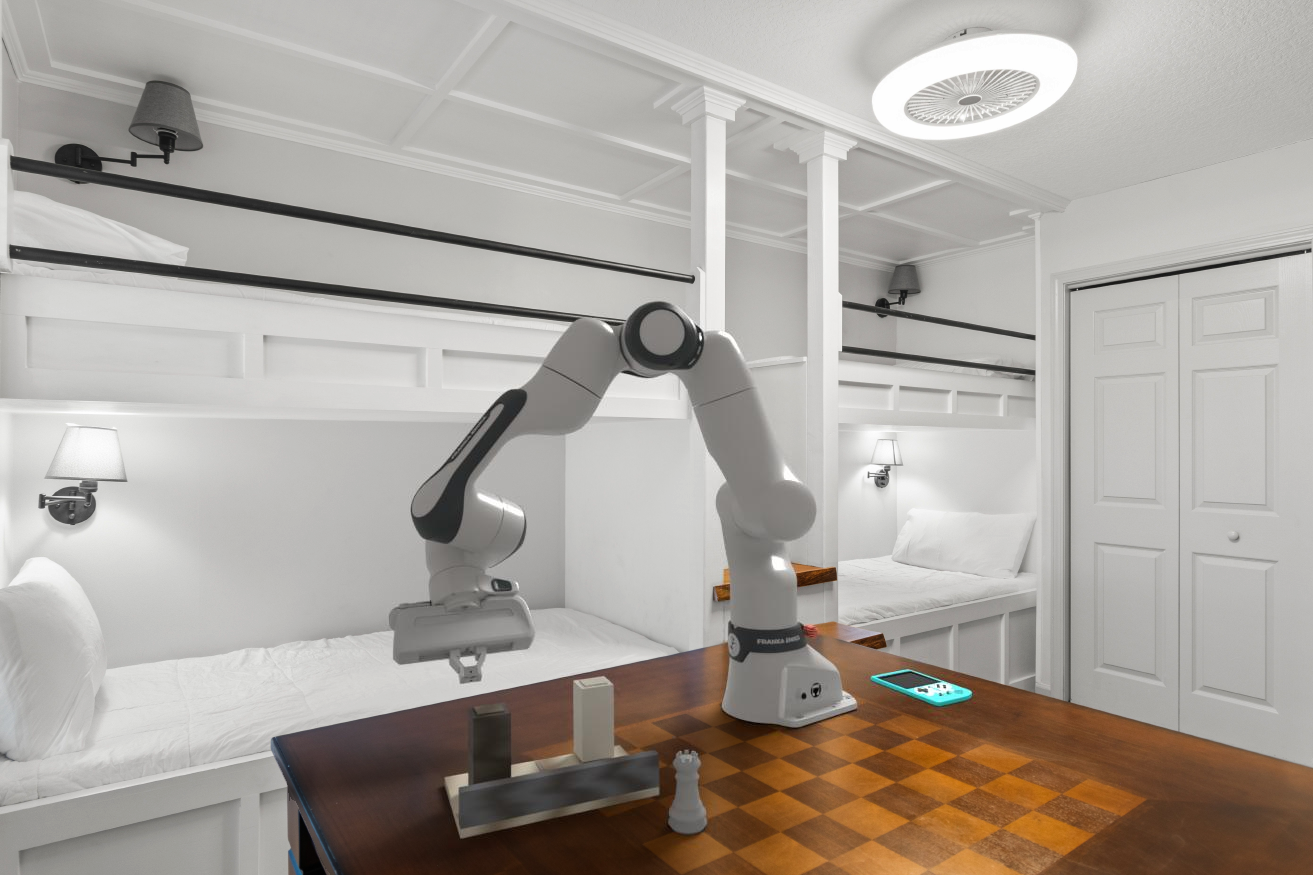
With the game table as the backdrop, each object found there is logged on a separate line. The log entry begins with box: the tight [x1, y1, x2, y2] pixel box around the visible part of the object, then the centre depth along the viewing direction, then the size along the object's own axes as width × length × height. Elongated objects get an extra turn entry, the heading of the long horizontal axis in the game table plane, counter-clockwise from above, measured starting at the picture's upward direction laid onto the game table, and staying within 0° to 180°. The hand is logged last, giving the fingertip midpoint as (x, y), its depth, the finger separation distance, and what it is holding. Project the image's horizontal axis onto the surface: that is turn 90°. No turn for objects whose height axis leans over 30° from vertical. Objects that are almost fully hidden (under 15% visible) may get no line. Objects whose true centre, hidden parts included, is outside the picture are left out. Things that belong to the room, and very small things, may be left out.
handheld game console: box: [870, 669, 973, 707], centre depth 127 cm, size 10×16×1 cm, turn 27°
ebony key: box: [467, 702, 512, 785], centre depth 87 cm, size 4×4×10 cm
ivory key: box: [572, 675, 615, 763], centre depth 97 cm, size 4×4×10 cm
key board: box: [444, 744, 660, 839], centre depth 89 cm, size 24×14×5 cm, turn 114°
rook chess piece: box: [667, 749, 708, 836], centre depth 80 cm, size 4×4×8 cm
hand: (471, 680), depth 100 cm, fingers closed
